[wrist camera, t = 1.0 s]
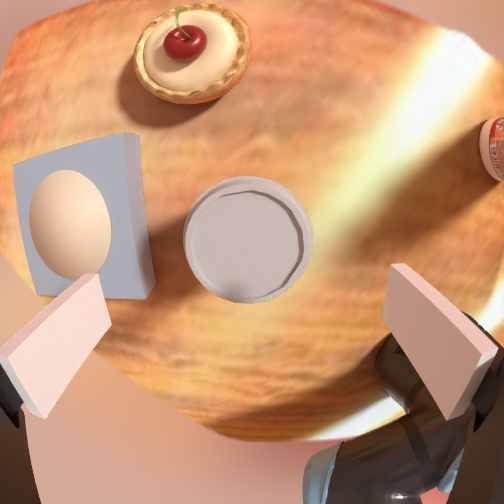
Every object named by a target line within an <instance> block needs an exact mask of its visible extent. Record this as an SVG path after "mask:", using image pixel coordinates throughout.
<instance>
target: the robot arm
mask: <svg viewBox="0 0 504 504" xmlns="http://www.w3.org/2000/svg"><path fill="white" fill-rule="evenodd" d="M381 318H382V320H383V321H384V323H385V324H386V325H387V327H388V328H389V330H390V331H391V333H392V335H391V336H390V337H389V338H388V340H387V341H386V342H385V343H384V345H383V346H382V348H381V349H380V351H379V353H378V355H377V358H376V361H375V366H374V373H375V377H376V379H377V381H378V384H379V386H380V387H381V389H382V390H383V391H384V392H385V393H386V394H388V395H389V396H391V397H392V398H393V399H394V400H395V401H396V402H397V403H398V404H399V405H400V406H402V407H403V408H404V410H405V412H406V415H404V416H402V417H400V418H398V419H396V420H394V421H392V422H390V423H387V424H385V425H383V426H381V427H379V428H377V429H374V430H372V431H370V432H367V433H365V434H363V435H360V436H358V437H355V438H353V439H350V440H347V441H345V442H344V441H341V442H339V443H338V444H337V445H334V446H332V447H330V448H327V449H324V450H322V451H319V452H317V453H316V454H314V455H313V456H311V458H310V459H309V460H308V462H307V464H306V467H305V471H304V476H303V504H422V502H421V498H420V495H422V494H423V493H425V492H427V491H429V490H431V489H433V488H435V487H437V488H438V491H441V492H442V493H447V492H450V491H451V492H450V495H449V498H448V500H447V503H446V504H504V348H503V347H502V346H501V345H500V344H499V343H498V342H497V341H496V340H495V339H494V338H493V337H492V336H491V335H490V334H489V333H488V332H487V331H485V330H484V328H483V327H482V326H481V325H478V322H476V321H475V320H474V319H473V318H472V317H471V316H470V315H468V314H466V313H464V312H462V311H460V310H459V309H458V308H456V307H455V306H454V305H453V304H452V303H451V302H450V301H449V300H448V299H446V298H445V297H444V296H443V295H442V294H441V293H440V292H438V291H437V290H436V289H435V288H434V287H433V286H432V285H430V284H429V283H428V282H427V281H426V280H424V279H423V278H422V277H421V276H420V275H418V274H417V273H416V272H415V271H414V270H412V269H411V268H410V267H409V266H407V265H406V264H405V263H398V264H390V269H389V276H388V283H387V289H386V295H385V301H384V307H383V312H382V317H381ZM111 325H112V323H111V320H110V317H109V313H108V310H107V306H106V303H105V299H104V295H103V292H102V288H101V284H100V280H99V275H98V273H86V274H84V275H83V276H82V277H80V278H79V279H78V280H77V281H75V282H74V283H73V284H72V285H71V286H69V287H68V288H67V289H66V290H64V291H63V292H62V293H61V294H60V295H58V296H57V297H56V298H55V299H54V300H53V301H51V302H50V303H49V304H48V305H47V306H46V307H44V308H43V309H42V310H41V311H40V312H39V313H37V314H36V316H34V317H33V318H32V319H31V320H30V321H29V322H28V323H26V324H25V325H24V326H23V327H22V328H21V329H20V330H19V331H18V332H17V333H16V334H15V335H13V336H12V337H11V338H10V339H9V340H8V341H7V342H6V343H5V344H4V345H3V346H2V347H1V348H0V504H41V501H40V498H39V495H38V491H37V487H36V483H35V479H34V474H33V470H32V465H31V460H30V454H29V448H28V441H27V435H26V427H25V415H24V412H23V410H22V409H21V405H22V403H23V402H24V403H25V405H26V406H27V408H28V409H29V411H30V412H31V414H33V415H36V416H38V417H41V418H43V419H46V417H47V416H48V414H49V413H50V411H51V409H52V408H53V406H54V405H55V403H56V402H57V400H58V399H59V397H60V395H61V394H62V393H63V391H64V390H65V388H66V387H67V385H68V384H69V382H70V381H71V379H72V378H73V377H74V375H75V374H76V372H77V371H78V369H79V368H80V366H81V365H82V364H83V362H84V361H85V360H86V358H87V357H88V355H89V354H90V353H91V351H92V350H93V349H94V347H95V346H96V345H97V343H98V342H99V341H100V339H101V338H102V337H103V335H104V334H105V333H106V331H107V330H108V329H109V327H110V326H111Z"/></svg>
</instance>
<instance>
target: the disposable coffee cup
mask: <svg viewBox="0 0 504 504" xmlns="http://www.w3.org/2000/svg"><path fill="white" fill-rule="evenodd" d="M183 248H184V252H185V256H186V259H187V262H188V264H189V266H190V268H191V270H192V271H193V273H194V275H195V277H196V278H197V279H198V280H199V281H200V282H201V284H202V285H203V286H204V287H205V288H206V289H208V290H209V291H211V292H212V293H214V294H215V295H216V296H218V297H221V298H223V299H226V300H229V301H232V302H236V303H248V304H253V303H259V302H265V301H268V300H270V299H273V298H276V297H277V296H279V295H281V294H282V293H284V292H285V291H287V290H288V289H289V288H290V287H292V285H293V284H294V283H295V282H296V281H297V280H298V279H299V278H300V276H301V275H302V274H303V272H304V270H305V269H306V267H307V265H308V263H309V260H310V257H311V254H312V248H313V231H312V226H311V221H310V219H309V216H308V214H307V211H306V209H305V208H304V207H303V205H302V204H301V202H300V201H299V199H298V198H297V197H296V196H295V195H294V194H293V193H291V192H290V191H289V190H288V189H287V188H285V187H284V186H282V185H280V184H279V183H277V182H274V181H271V180H269V179H266V178H262V177H255V176H239V177H233V178H229V179H226V180H223V181H221V182H219V183H217V184H215V185H213V186H211V187H210V188H209V189H207V190H206V191H205V192H203V193H202V194H201V195H200V196H199V197H198V199H197V200H196V201H195V202H194V204H193V205H192V207H191V209H190V211H189V213H188V215H187V218H186V221H185V224H184V230H183Z"/></svg>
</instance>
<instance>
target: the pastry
mask: <svg viewBox="0 0 504 504" xmlns="http://www.w3.org/2000/svg"><path fill="white" fill-rule="evenodd" d="M251 51H252V43H251V35H250V28H249V26H248V25H247V23H246V22H245V20H244V19H243V18H242V17H241V16H240V15H239V14H237V13H236V12H235V11H233V10H231V9H229V8H226V7H224V6H221V5H217V4H202V3H196V4H194V5H183V6H180V7H177V8H175V9H171V10H168V11H166V12H164V13H163V14H161V15H160V16H159V17H157V18H156V19H155V20H153V21H152V22H151V23H150V24H149V25H148V26H147V27H146V28H145V30H144V31H143V32H142V34H141V36H140V37H139V40H138V42H137V44H136V47H135V50H134V55H133V66H134V71H135V74H136V76H137V78H138V80H139V82H140V83H141V85H142V86H143V87H144V88H145V89H146V90H148V91H149V92H150V93H152V94H153V95H155V96H157V97H159V98H162V99H164V100H166V101H169V102H172V103H175V104H198V103H203V102H208V101H212V100H214V99H217V98H219V97H221V96H223V95H225V94H226V93H228V92H229V91H230V90H231V89H233V88H234V87H235V86H236V85H237V83H238V82H239V81H240V80H241V78H242V77H243V75H244V74H245V72H246V70H247V67H248V65H249V62H250V58H251Z"/></svg>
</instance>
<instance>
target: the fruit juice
mask: <svg viewBox="0 0 504 504" xmlns="http://www.w3.org/2000/svg"><path fill="white" fill-rule="evenodd" d="M479 146H480V154H481V158H482V161H483V164H484V166H485V168H486V170H487V172H488V173H489V174H490V175H491V176H492V177H493V178H494V179H496V180H498V181H501V182H504V117H501V118H492V119H489V120H488V121H486V122H485V124H484V125H483V127H482V129H481V132H480V139H479Z"/></svg>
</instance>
